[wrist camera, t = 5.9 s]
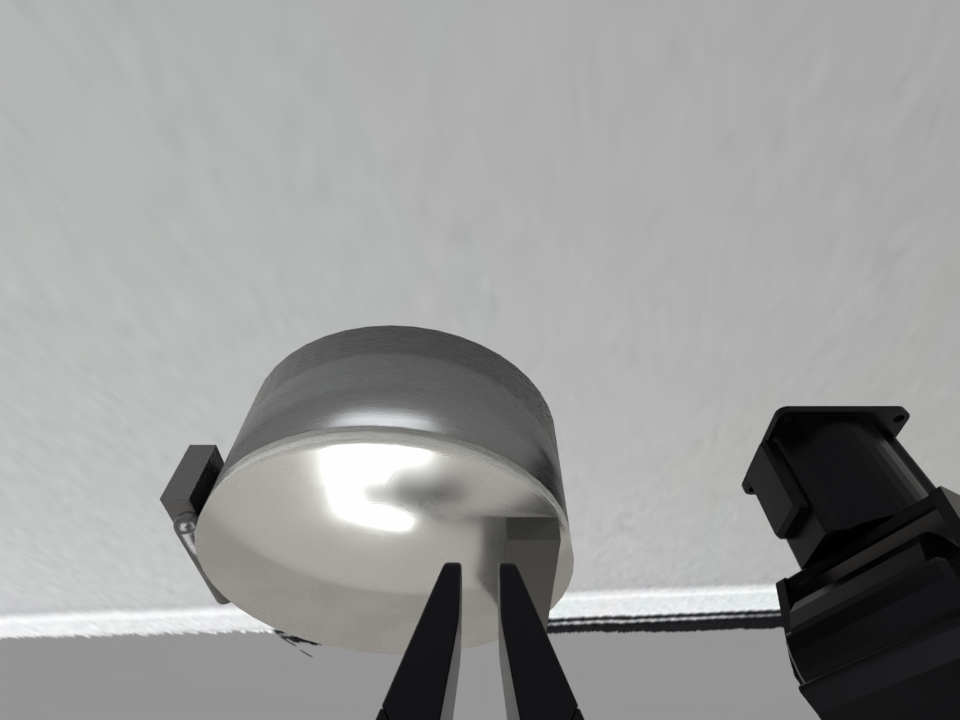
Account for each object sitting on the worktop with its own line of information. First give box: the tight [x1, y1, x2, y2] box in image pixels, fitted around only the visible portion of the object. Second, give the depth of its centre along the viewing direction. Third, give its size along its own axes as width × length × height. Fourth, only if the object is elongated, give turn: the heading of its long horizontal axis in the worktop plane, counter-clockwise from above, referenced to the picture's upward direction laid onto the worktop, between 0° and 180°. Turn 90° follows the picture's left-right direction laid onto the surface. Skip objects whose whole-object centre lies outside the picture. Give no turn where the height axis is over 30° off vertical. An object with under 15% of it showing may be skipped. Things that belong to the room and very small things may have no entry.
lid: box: [173, 426, 574, 655], centre depth 24 cm, size 16×16×2 cm
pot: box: [160, 325, 570, 530], centre depth 27 cm, size 17×16×6 cm
